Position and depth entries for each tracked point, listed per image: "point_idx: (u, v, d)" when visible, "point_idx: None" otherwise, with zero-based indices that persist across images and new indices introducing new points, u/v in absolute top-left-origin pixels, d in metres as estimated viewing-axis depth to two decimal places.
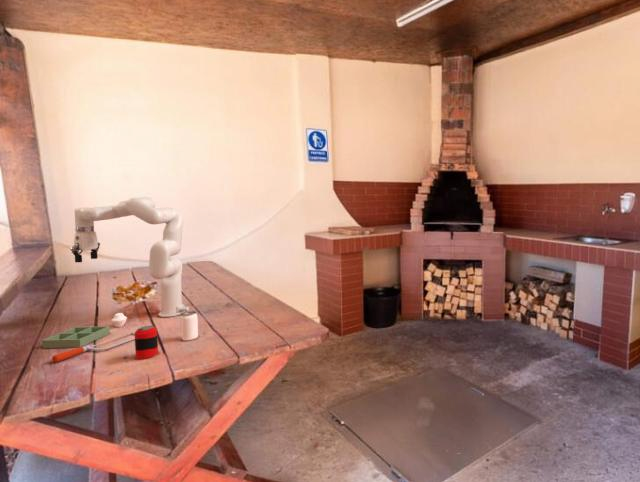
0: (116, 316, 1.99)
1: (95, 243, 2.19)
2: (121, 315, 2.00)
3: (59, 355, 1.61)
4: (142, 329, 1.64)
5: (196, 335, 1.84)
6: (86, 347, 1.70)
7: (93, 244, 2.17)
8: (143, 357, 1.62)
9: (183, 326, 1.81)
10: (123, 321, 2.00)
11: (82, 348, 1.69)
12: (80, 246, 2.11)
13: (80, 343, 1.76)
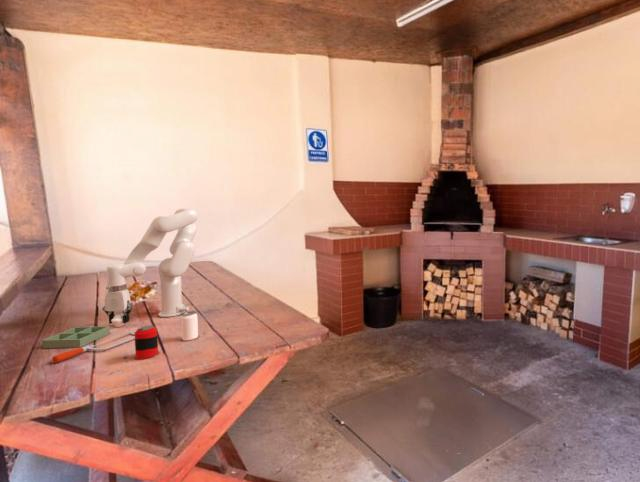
0: (116, 316, 1.99)
1: (120, 305, 1.98)
2: (121, 315, 2.00)
3: (59, 355, 1.60)
4: (142, 329, 1.64)
5: (196, 335, 1.84)
6: (86, 347, 1.70)
7: (117, 306, 1.98)
8: (143, 357, 1.62)
9: (183, 326, 1.81)
10: None
11: (82, 348, 1.69)
12: None
13: (80, 343, 1.76)
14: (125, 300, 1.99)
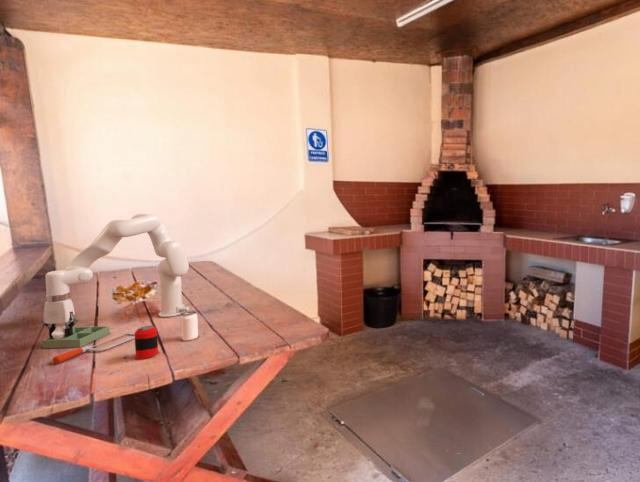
0: (57, 329, 1.77)
1: (61, 317, 1.76)
2: (63, 328, 1.78)
3: (60, 356, 1.60)
4: (142, 329, 1.64)
5: (196, 335, 1.84)
6: (85, 348, 1.70)
7: (57, 317, 1.76)
8: (143, 357, 1.62)
9: (183, 326, 1.81)
10: None
11: (81, 349, 1.68)
12: None
13: (80, 343, 1.76)
14: (67, 311, 1.77)
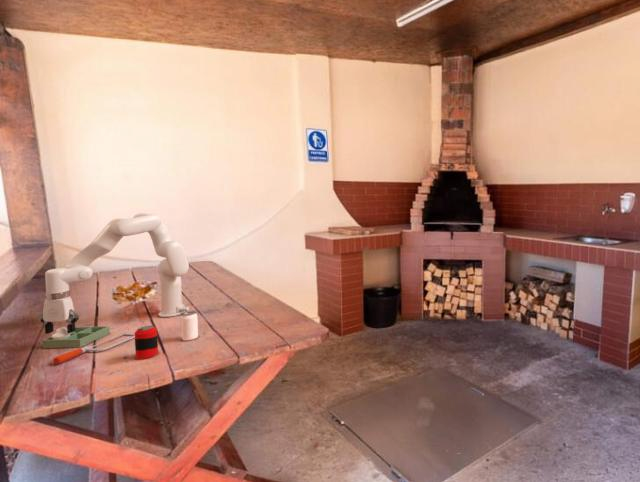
0: (57, 331, 1.77)
1: (60, 315, 1.76)
2: (63, 330, 1.78)
3: (61, 357, 1.59)
4: (142, 329, 1.64)
5: (196, 335, 1.84)
6: (85, 348, 1.69)
7: (57, 315, 1.75)
8: (143, 357, 1.62)
9: (183, 326, 1.81)
10: None
11: (81, 349, 1.68)
12: None
13: (80, 343, 1.76)
14: (66, 309, 1.77)
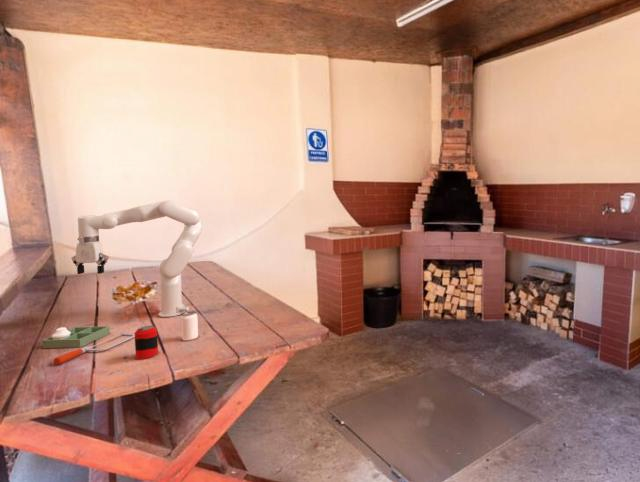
0: (57, 331, 1.77)
1: (91, 256, 1.94)
2: (63, 330, 1.78)
3: (62, 357, 1.59)
4: (142, 329, 1.64)
5: (196, 335, 1.84)
6: (84, 348, 1.69)
7: (88, 257, 1.94)
8: (143, 357, 1.62)
9: (183, 326, 1.81)
10: None
11: (81, 350, 1.67)
12: None
13: (80, 343, 1.76)
14: (97, 252, 1.95)
